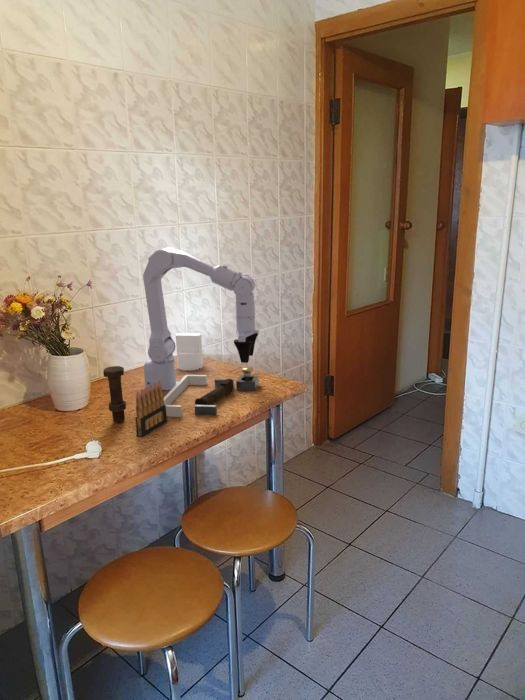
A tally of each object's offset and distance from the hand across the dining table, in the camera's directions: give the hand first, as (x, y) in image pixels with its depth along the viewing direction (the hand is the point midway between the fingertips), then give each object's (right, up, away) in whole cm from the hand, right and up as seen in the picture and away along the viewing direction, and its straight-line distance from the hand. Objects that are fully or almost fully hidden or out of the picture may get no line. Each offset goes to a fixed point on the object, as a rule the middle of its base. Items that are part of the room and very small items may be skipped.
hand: (247, 358), depth 167 cm
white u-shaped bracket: (-18, -12, -6) cm, 22 cm away
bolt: (-34, -17, -21) cm, 44 cm away
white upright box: (-21, -3, +27) cm, 34 cm away
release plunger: (0, -7, +2) cm, 7 cm away
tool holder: (-5, -12, -6) cm, 14 cm away
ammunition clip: (-24, -18, -26) cm, 40 cm away
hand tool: (-9, -13, -7) cm, 17 cm away
